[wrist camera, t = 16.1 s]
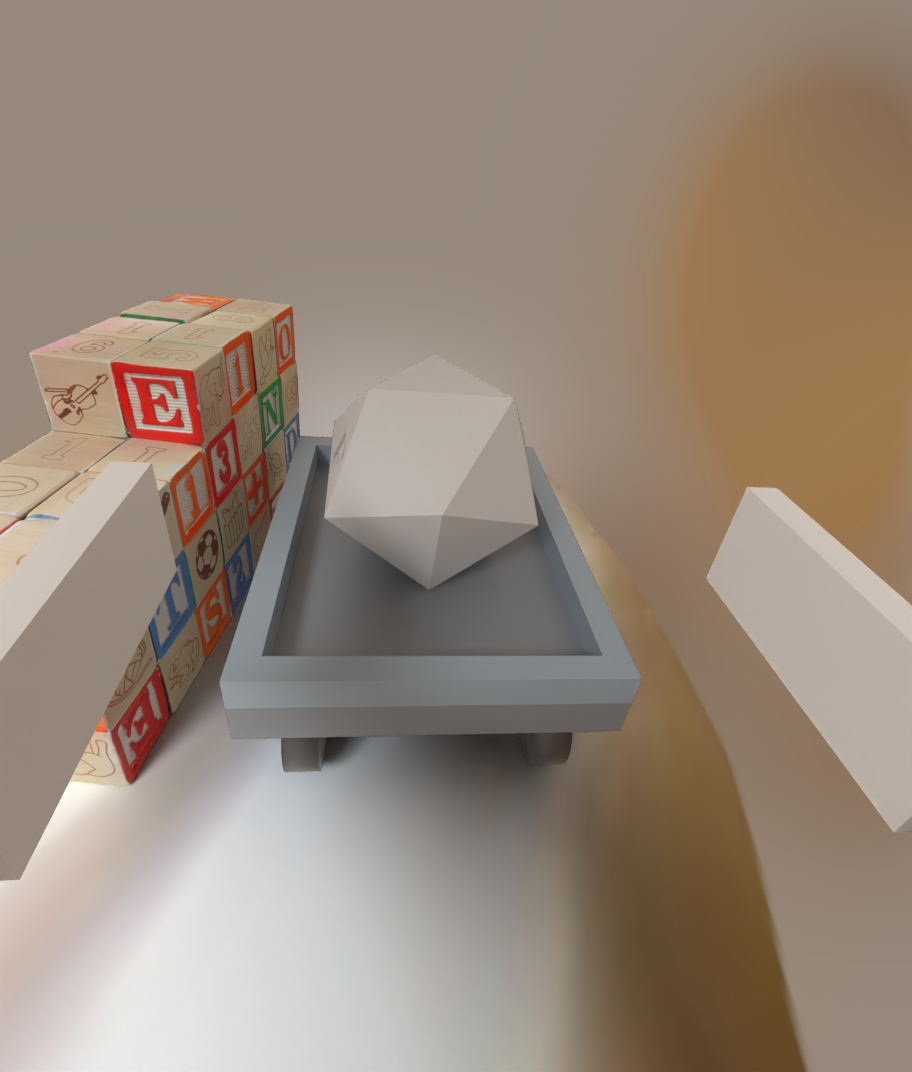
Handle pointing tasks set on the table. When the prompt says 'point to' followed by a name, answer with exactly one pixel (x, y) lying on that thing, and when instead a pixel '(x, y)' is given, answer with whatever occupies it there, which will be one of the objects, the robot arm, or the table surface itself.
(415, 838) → the table surface
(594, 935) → the table surface
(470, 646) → the trolley
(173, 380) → the stack of blocks
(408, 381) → the die
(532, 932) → the table surface
